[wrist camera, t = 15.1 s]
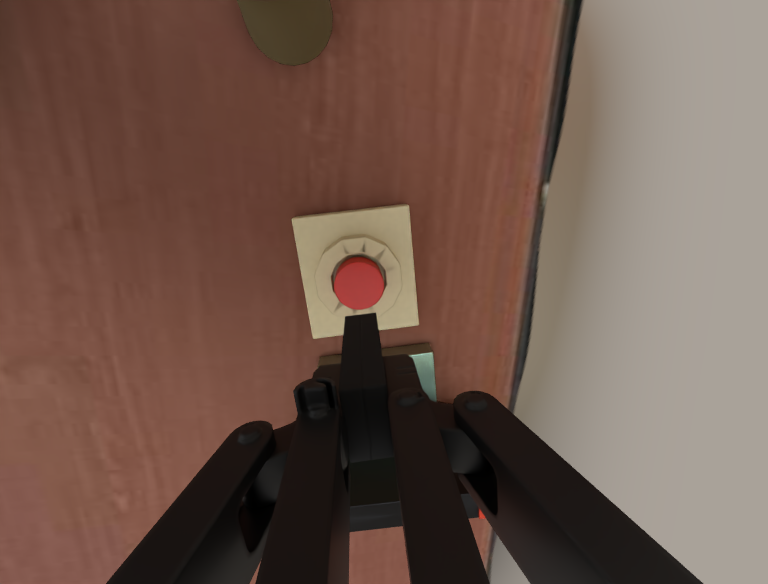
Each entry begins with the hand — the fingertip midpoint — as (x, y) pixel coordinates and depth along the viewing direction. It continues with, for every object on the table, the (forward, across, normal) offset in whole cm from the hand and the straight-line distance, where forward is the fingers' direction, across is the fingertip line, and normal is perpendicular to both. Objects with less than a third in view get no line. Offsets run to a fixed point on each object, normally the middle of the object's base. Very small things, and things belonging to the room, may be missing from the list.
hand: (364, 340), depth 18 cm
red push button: (+11, 0, 0) cm, 11 cm away
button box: (+14, 0, 0) cm, 14 cm away
